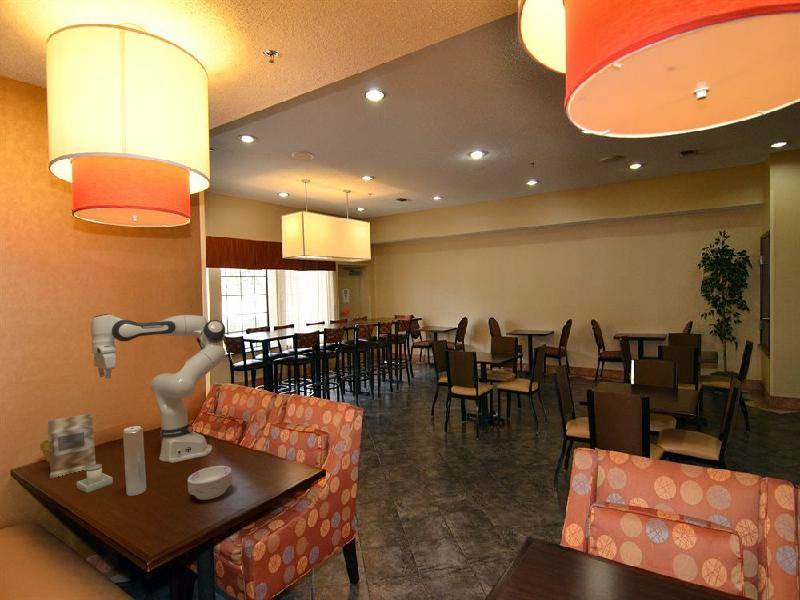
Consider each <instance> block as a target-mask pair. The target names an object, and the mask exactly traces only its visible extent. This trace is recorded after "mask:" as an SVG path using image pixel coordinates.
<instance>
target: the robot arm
mask: <svg viewBox="0 0 800 600" xmlns="http://www.w3.org/2000/svg"><path fill="white" fill-rule="evenodd" d="M90 335H91V353H92V354H93V366H94V367H96V368H97V371H98V376H99V377H101V378H102V377H104V378H105V379H107V380H108V379H111V378H112V370H114V369H116V365H117V364H116V363H117V356H116V353H117V352H118V349H117V346H116V345H115V340H117V341H120V342H130V341H132V340H134V339H136V338H138V337H143V336H144V337H145V336H155V335H161V336H162V335H165V336H168V337H169V336H170V337H188V336H193V337H196V341H197V343H198V346H199V348H200V349H201V350H199V351H198V352H197V353H195V354H194V355H193V356H192V357H190V358H189V359H187V360H186V361H185V362H184V364H183V367H182V368H181V369H180V370H179V371H178V372H176V373H171V372H170V373H169V372H167V373H166V372H165V373H160V374H158V375H156V376H155V377H153V379H152V380H151V383H150V388H151V391H152V392H153V394H154V395H155V397H156V401H157V405H158V408H159V412H160V421H161V423H160V424H161V428H160V439H161V448H160V455H159V458H158V459H159V461H161V462H168V463H169V464H171V463H178V462H182V461H186V460H191V459H192V460H193V459H196V458H202V457H206V456H208V455H209V454H210V453H211V452H213V451H212V450H213V446H212V445H211V444H208V442H207V438H205V436H204V435H203V434H201V433H199V432H196V431H194V427H193V423H191V424H190V423H189V422H188V420H189V417H188V408H187V405H186V404H185V403H184V400H183V399H185V398H188V397H190V396H192V394H193V393H194V392H195V389H196V388H195V387H196V385H197V384H198V383H199V381H200V380H201V379H203V377H204V376H206V375H207V374H208V373H210V372H211V371H212V370H214V369H215V368H216V367H217V366H218V365H219V364H220V363H221V362H222V361H223V360H224V358H225V357H226V353H227V352H226V350H225V348H224V346H222V343H223V341H224V338H225V335H226V327H225V323H224V322H222V321H221V320H218V319H210V320H209V321H207V319H206V317H204V316H202V315H199V314H198V315H195V314H181V315H175V316H169V317H167V318H164V319H163V320H160V321H159V320H158V321H149V322H147V321H146V322H136V321H133V320H131V319H123V318H120V317H117V316H115V315H112V314H111V313H103V314H100V315H95V316H94V317H93V318H91V321H90Z"/></svg>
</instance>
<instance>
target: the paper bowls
mask: <svg viewBox="0 0 800 600" xmlns="http://www.w3.org/2000/svg"><path fill="white" fill-rule="evenodd" d="M232 483H233V470H232V468H231V467H229V466H227V465H216V466H215V465H213V466H209V467H205V468H202V469H200V470H198V471H195V472H194V473H191V475H190V476H189V475H188V477H187V490H188V494H190V495H192V496H194V497H195V498H196V499H198V500H201V501H207V500H212V499H216V498H218V497H220V496H222V495H224V494H225V492H227V489H228V487H229V486H231V485H232Z"/></svg>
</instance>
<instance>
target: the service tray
mask: <svg viewBox="0 0 800 600" xmlns="http://www.w3.org/2000/svg"><path fill="white" fill-rule="evenodd" d="M113 479H114V478H113V477H112V476H110V475H109V474H108V475H107V474H106V473H103V472H102V480H103V481H100V482H97V483H94V484H91V485H88V486H87V478H84V479H82V480H78V481H76V488H77V489H78V490H80V491H81V492H83V493H85V494H88V493H90V492H93V491H96V490H99V489H102V488H105V487H107V486H110V485H113V484H114V482H113V481H114V480H113Z"/></svg>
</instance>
